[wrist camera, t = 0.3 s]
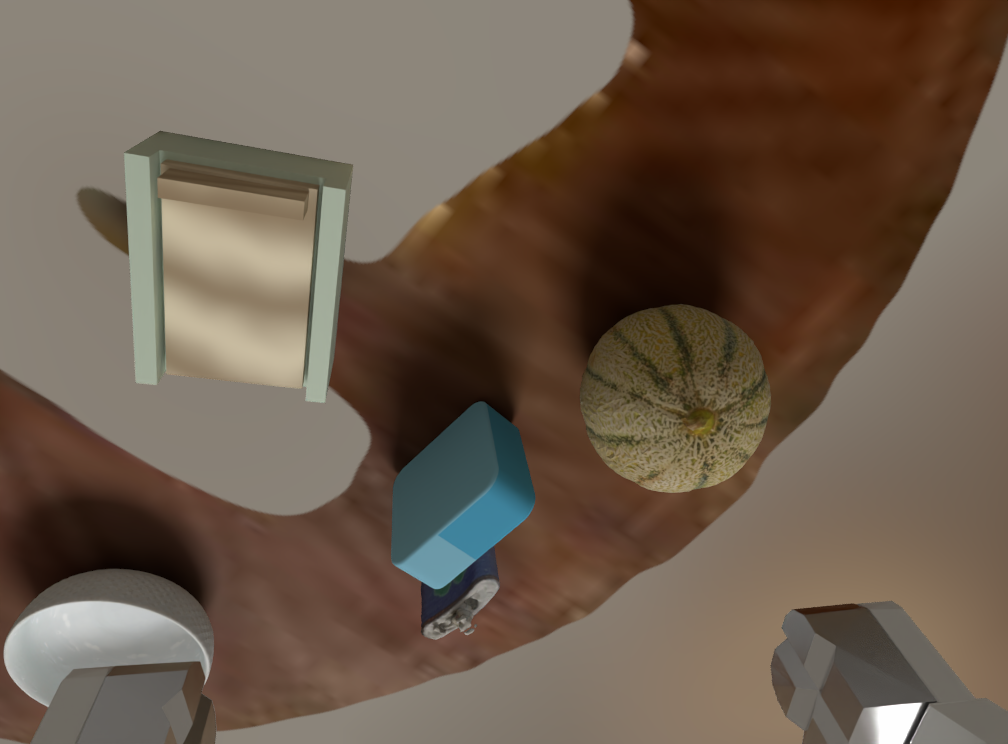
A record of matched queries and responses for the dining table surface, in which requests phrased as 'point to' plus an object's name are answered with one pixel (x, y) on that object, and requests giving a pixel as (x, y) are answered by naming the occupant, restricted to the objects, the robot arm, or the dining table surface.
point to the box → (149, 242)
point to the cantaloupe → (675, 398)
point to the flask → (459, 598)
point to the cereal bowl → (105, 628)
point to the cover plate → (236, 273)
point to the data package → (460, 496)
